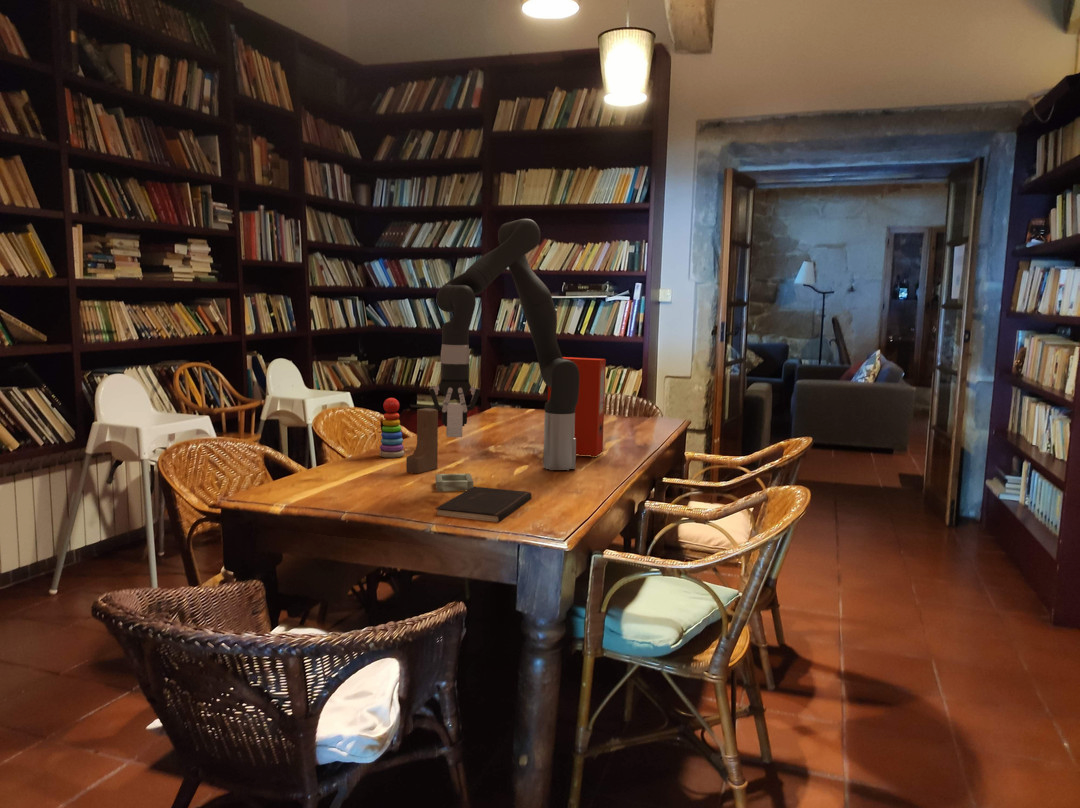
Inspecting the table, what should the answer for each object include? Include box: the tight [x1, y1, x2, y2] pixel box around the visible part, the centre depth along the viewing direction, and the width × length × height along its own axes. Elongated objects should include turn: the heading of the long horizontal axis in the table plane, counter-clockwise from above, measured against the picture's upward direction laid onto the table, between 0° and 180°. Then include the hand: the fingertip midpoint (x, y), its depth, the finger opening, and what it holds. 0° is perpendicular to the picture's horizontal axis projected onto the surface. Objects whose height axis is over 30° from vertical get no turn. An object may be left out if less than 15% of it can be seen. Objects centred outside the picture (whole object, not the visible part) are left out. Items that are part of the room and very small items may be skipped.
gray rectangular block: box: [445, 402, 463, 438], centre depth 203 cm, size 4×4×8 cm
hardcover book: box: [434, 486, 533, 524], centre depth 186 cm, size 16×23×2 cm
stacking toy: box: [378, 397, 405, 459], centre depth 243 cm, size 8×8×19 cm
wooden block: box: [405, 407, 439, 474], centre depth 223 cm, size 9×4×18 cm, turn 146°
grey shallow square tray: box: [435, 473, 474, 492], centre depth 205 cm, size 10×10×2 cm
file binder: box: [547, 356, 607, 456], centre depth 253 cm, size 8×17×32 cm, turn 70°
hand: (454, 425), depth 203 cm, fingers closed on gray rectangular block, 4 cm apart
